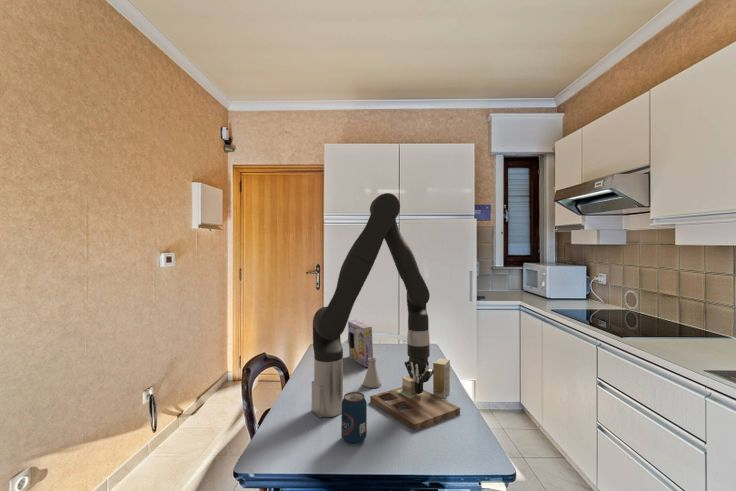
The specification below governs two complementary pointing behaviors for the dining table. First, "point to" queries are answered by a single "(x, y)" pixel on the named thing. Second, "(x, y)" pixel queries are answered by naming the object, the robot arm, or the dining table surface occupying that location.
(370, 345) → the cake pan box
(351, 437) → the soda can
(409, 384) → the birch block
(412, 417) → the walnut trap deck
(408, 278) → the robot arm
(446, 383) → the skincare box
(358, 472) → the dining table surface
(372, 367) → the flask
